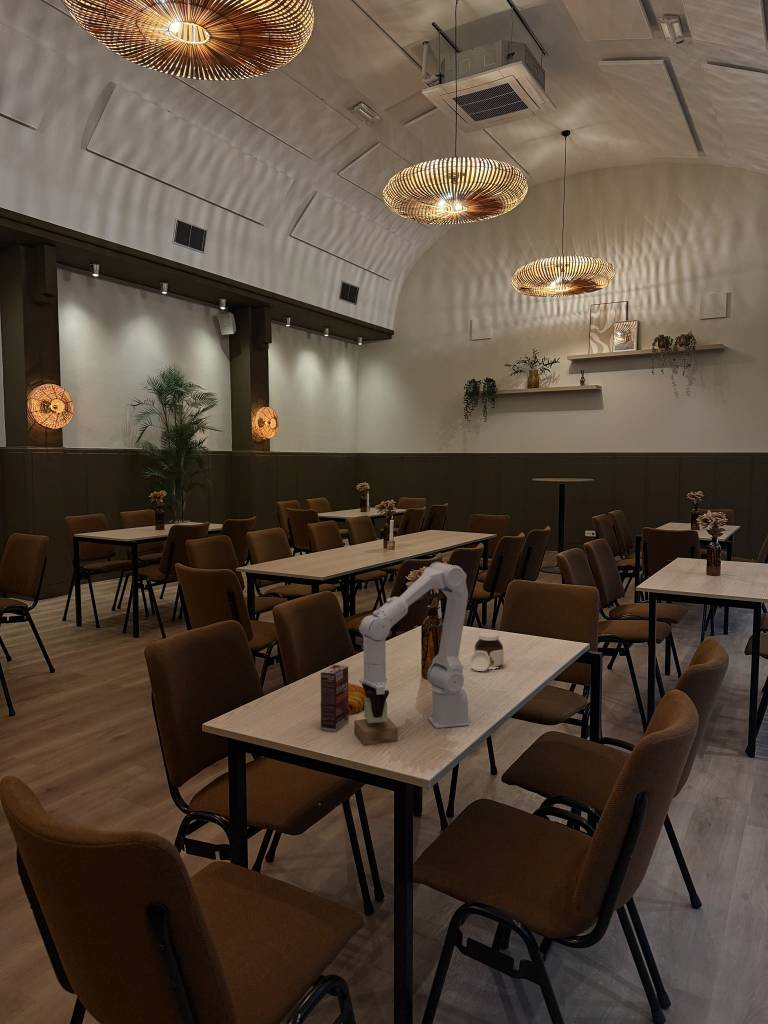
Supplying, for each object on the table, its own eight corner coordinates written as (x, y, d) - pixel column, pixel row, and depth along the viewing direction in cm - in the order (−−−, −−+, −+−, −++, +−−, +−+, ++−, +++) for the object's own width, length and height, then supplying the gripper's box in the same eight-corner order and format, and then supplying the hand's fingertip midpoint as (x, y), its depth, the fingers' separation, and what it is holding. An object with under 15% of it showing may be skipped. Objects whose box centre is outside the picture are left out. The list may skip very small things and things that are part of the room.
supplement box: (336, 732, 192) (335, 674, 192) (320, 730, 194) (319, 672, 193) (349, 722, 200) (349, 665, 200) (334, 719, 202) (333, 664, 201)
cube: (383, 715, 191) (382, 696, 191) (387, 721, 186) (386, 702, 186) (364, 716, 190) (364, 698, 190) (368, 723, 185) (367, 704, 185)
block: (386, 730, 194) (386, 716, 194) (397, 742, 186) (397, 727, 185) (354, 735, 191) (354, 720, 191) (364, 747, 183) (363, 731, 183)
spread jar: (501, 664, 258) (501, 631, 257) (506, 673, 246) (506, 639, 246) (468, 664, 258) (467, 632, 257) (471, 673, 247) (471, 639, 246)
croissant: (328, 724, 205) (327, 698, 203) (318, 700, 220) (318, 676, 218) (377, 718, 209) (377, 692, 207) (364, 695, 223) (364, 671, 222)
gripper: (354, 656, 194) (355, 705, 194) (364, 670, 179) (365, 724, 180) (380, 654, 195) (380, 703, 196) (392, 668, 181) (393, 721, 182)
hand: (375, 713), depth 188 cm, fingers closed on cube, 5 cm apart
